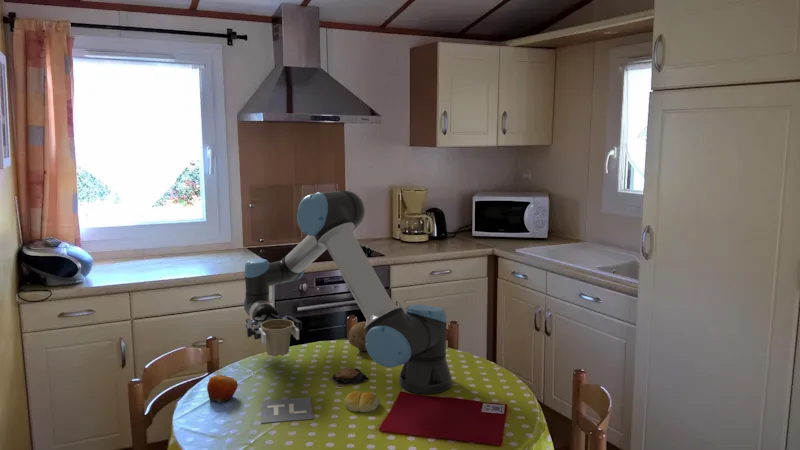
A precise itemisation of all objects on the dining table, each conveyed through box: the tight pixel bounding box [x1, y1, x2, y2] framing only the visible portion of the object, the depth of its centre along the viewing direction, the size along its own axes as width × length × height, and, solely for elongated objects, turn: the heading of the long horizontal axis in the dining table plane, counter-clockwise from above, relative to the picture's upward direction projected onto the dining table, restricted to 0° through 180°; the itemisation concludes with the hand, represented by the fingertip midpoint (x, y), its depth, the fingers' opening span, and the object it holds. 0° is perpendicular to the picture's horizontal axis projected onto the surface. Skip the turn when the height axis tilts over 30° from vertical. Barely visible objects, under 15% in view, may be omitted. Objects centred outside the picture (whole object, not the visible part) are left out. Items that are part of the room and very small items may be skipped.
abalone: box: [328, 367, 370, 388], centre depth 182 cm, size 11×8×4 cm
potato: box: [348, 321, 367, 352], centre depth 206 cm, size 9×9×10 cm
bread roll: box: [344, 390, 380, 413], centre depth 164 cm, size 8×9×4 cm
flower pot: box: [260, 319, 294, 357], centre depth 177 cm, size 9×9×9 cm
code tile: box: [260, 396, 314, 424], centre depth 162 cm, size 13×13×1 cm
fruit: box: [206, 374, 239, 406], centre depth 168 cm, size 8×8×8 cm
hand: (281, 337), depth 172 cm, fingers closed on flower pot, 9 cm apart
